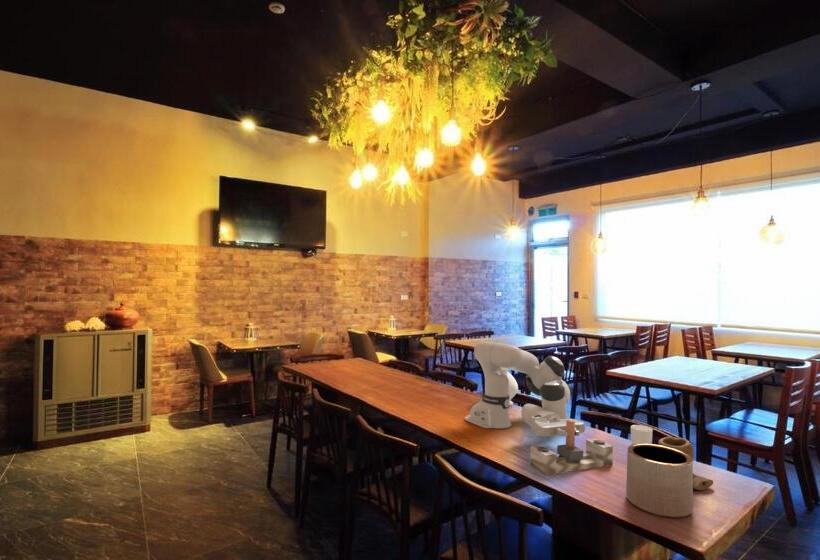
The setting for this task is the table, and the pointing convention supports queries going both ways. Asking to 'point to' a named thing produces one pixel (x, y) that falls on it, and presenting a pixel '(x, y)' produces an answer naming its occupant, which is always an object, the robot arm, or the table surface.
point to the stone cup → (687, 448)
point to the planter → (660, 480)
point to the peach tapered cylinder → (570, 445)
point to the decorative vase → (510, 384)
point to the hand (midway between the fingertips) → (572, 434)
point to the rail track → (552, 464)
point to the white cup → (641, 434)
